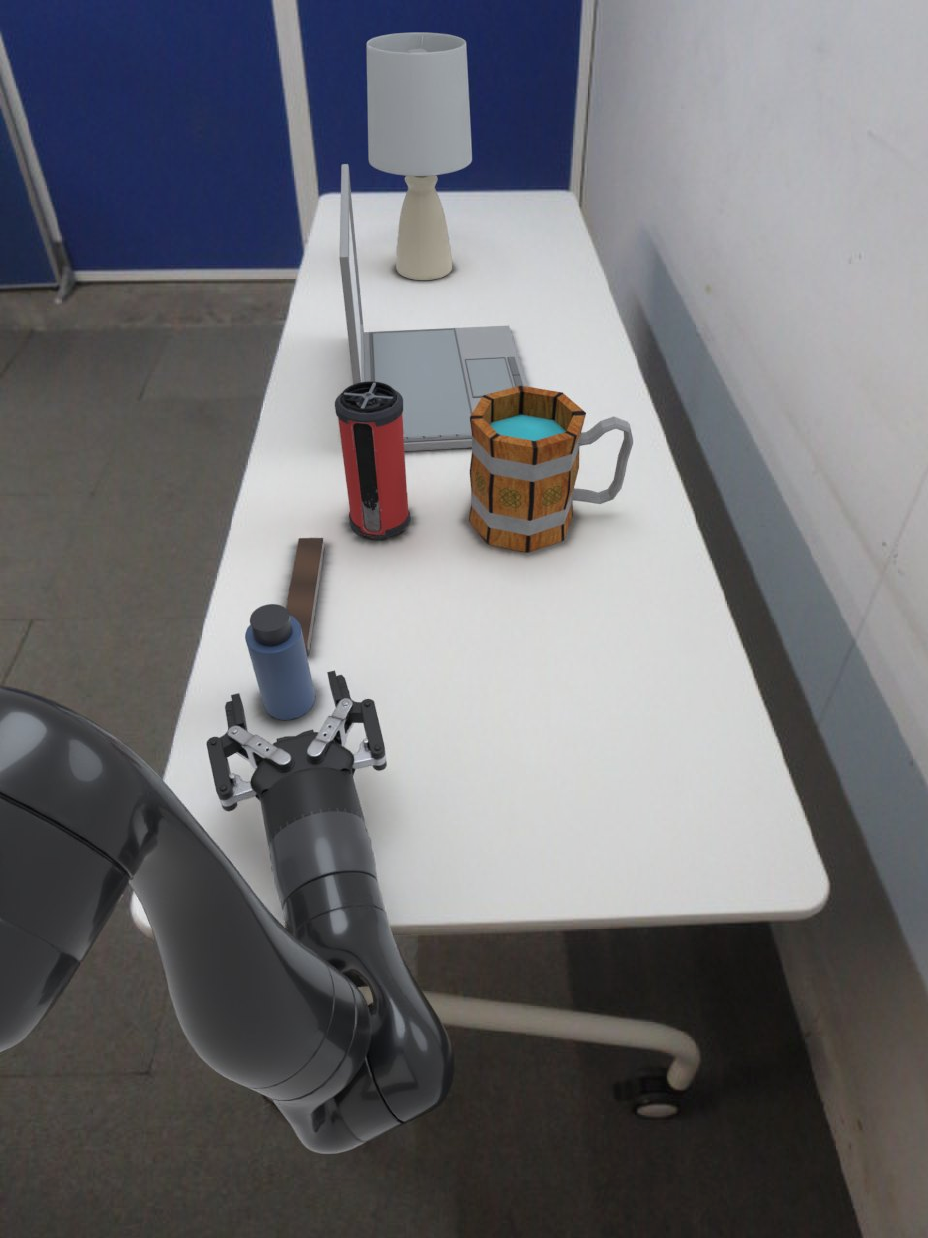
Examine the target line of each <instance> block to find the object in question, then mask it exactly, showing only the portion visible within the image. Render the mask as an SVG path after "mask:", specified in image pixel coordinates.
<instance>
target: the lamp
mask: <svg viewBox="0 0 928 1238" xmlns="http://www.w3.org/2000/svg"><path fill="white" fill-rule="evenodd" d="M467 53H468V51H467V41H466V40H465V39H463V38H462V37H459V36H458V35H457V36H456V35H453V34H448V33H438V32H399V33H390V34H384V35H379V36H375V37H372V38H371V39H369V40H367V42H366V84H367V85H366V92H367V95H366V96H367V146H368V147H367V150H368V151H367V152H368V163H369V165H370V166H371V167H373V168H374V169H376V170H378V171H380V172H384V173H387V174H392V175H397V176H405V177H404V182H405V183H406V185H407V191H406V193H405V196H404V198H403V202H402V206H401V209H400V210H401V211H400V215H399V219H398V229H397V230H398V231H397V233H398V234H397V238H396V241H397V243H396V249H395V250H396V257H395V269H396V271H397V273H398V274H399V275H400V276H402V277H404V278H405V279H409V280H414V281H415V280H416V281H432V280H437V279H442V278H443V277H446V276H448V275H449V274H450V273H451V272H452V270H453V257H452V247H451V242H450V236H449V228H448V223H447V219H446V214H445V211H444V208H443V204H442V201H441V198H440V196H439V194H438V192H437V189H436V184H437V182H438V180H439V179H438V176H440V175H445V174H450V173H454V172H455V173H456V172H458V171H460V170H464V169H465V168H467V167H468V166H469V165H471V163H472V162H473V149H472V128H471V127H472V125H471V109H470V90H469V89H470V87H469V71H468V70H469V69H468V54H467Z"/></svg>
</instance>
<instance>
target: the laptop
mask: <svg viewBox="0 0 928 1238" xmlns="http://www.w3.org/2000/svg"><path fill="white" fill-rule="evenodd" d="M340 167H341V168H340V169H341V171H340V172H341V173H340V176H341V177H340V211H339V212H340V213H339V214H340V215H339V218H340V219H339V220H340V221H339V266H340V275H341V285H342V293H343V303H344V313H345V323H346V332H347V340H348V350H349V359H350V368H351V377H352V385H353V384H356V383H360V382H368V381H373V382H381V383H384V384H387V385H389V386H391V387H392V388H393V389H394V390H396V391H397V392H399V393H400V394H401V396H402V398H403V413H402V416H403V432H404V434H403V437H404V452H415V451H433V450H434V451H435V450H436V451H437V450H452V449H453V450H454V449H467V448H471V449H472V431H471V424H470V416H471V414H472V413H473V411H474V410H475V408H476V406H477V405H478V403H479V401H480V400H481V398H482V396H483V395H487V394H490V393H494V392H498V391H502V390H506V389H510V388H513V387H517V386H527V387H529V384H528V382H527V379H526V375H525V373H524V369H523V366H522V362H521V359H520V356H519V353H518V350H517V346H516V343H515V340H514V336H513V333H512V329H511V327H510V325H492V326H491V325H490V326H468V327H467V326H466V327H448V328H447V327H446V328H445V327H444V328H424V329H423V328H421V329H404V330H383V331H382V330H381V331H380V330H379V331H365V329H364V319H363V318H364V317H363V306H362V295H361V285H360V275H359V265H358V263H359V262H358V254H357V253H358V252H357V243H356V242H357V241H356V232H355V221H354V209H353V200H352V188H351V177H350V166H349V163H342V164H341V166H340Z"/></svg>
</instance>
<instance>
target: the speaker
mask: <svg viewBox="0 0 928 1238" xmlns="http://www.w3.org/2000/svg"><path fill="white" fill-rule="evenodd" d="M334 411H335V415H336V417H337V420H338V428H339V434H340V435H339V436H340V445H341V452H342V460H343V469H344V476H345V484H346V492H347V499H348V508H349V513H348V519H349V524H350V526H351V528H352V530H353V531H355V533H357V534H359V535H361V536H364V537H367V538H371V539H386V538H390V537H393V536H395V535H398V534H399V533H401V532H403V531H404V530H405V529H406V528H407V527H408V526H409V524H410V522H411V512H410V510H409V497H408V488H407V472H406V469H407V468H406V454H405V451H404V437H403V434H404V432H403V416H402V413H403V398H402V396H401V394H400V393H399V392H397V391H396V390H394V389H393V388H392V387H391V386H389V385H387V384H384V383H381V382H373V381H368V382H360V383H356V384H353V383H352V384H351V385H349V386H347V387H346V388H345V389H344V390H342V392H341V393H340V394H339V395H337V397H336V398H335V401H334Z"/></svg>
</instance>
